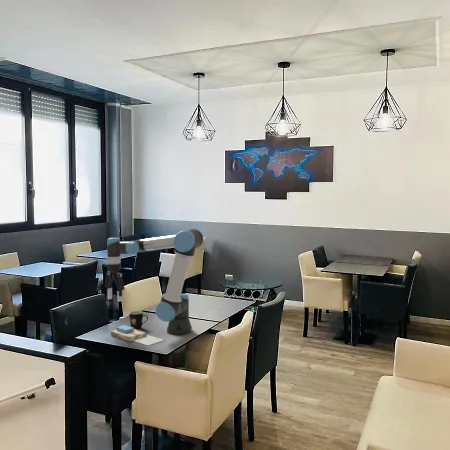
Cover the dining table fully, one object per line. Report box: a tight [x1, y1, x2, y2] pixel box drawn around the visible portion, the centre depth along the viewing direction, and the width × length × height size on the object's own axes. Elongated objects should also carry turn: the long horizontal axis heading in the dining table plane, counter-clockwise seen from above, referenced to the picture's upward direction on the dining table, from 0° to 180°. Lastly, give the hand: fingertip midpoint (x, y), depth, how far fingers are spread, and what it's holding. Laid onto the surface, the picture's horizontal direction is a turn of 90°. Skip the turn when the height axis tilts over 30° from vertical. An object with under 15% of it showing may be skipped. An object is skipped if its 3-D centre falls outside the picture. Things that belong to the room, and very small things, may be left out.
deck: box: [110, 329, 147, 343], centre depth 262 cm, size 12×18×2 cm, turn 49°
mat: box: [131, 334, 165, 347], centre depth 253 cm, size 12×14×1 cm
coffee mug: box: [128, 310, 149, 330], centre depth 277 cm, size 12×9×10 cm
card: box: [115, 324, 134, 334], centre depth 264 cm, size 9×6×2 cm, turn 49°
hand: (114, 300), depth 269 cm, fingers open, 9 cm apart
